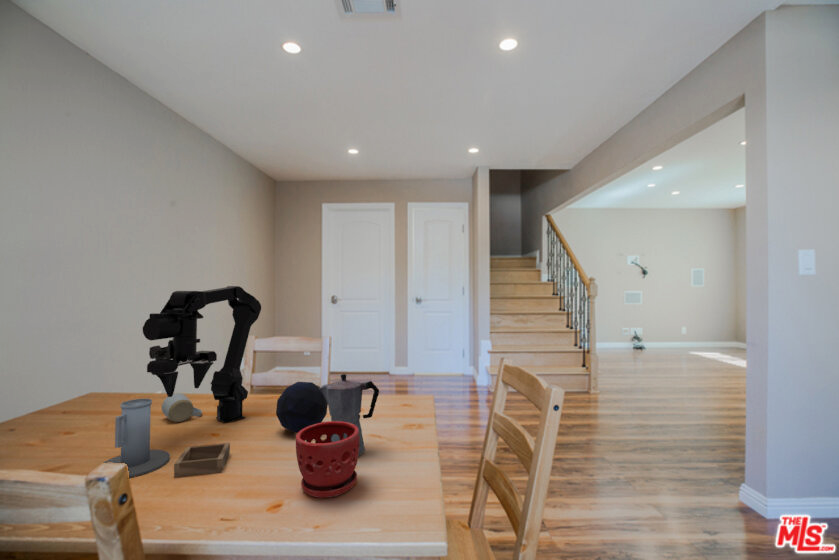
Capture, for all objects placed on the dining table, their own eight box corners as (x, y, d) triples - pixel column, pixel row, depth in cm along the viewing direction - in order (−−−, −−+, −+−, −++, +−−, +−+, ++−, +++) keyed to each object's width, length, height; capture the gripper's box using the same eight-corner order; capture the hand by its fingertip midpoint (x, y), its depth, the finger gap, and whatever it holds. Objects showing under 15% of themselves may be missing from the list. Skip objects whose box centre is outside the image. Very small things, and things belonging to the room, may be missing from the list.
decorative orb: (261, 411, 117) (277, 375, 111) (305, 400, 128) (322, 367, 122) (280, 451, 109) (299, 415, 103) (325, 435, 121) (344, 402, 115)
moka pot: (321, 445, 105) (321, 370, 105) (378, 443, 106) (379, 369, 107) (314, 461, 95) (315, 378, 96) (378, 459, 97) (378, 377, 97)
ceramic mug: (168, 425, 119) (169, 400, 119) (160, 419, 125) (161, 395, 125) (205, 418, 127) (206, 394, 127) (197, 412, 132) (198, 389, 133)
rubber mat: (160, 448, 103) (160, 444, 103) (177, 464, 93) (177, 461, 93) (91, 465, 92) (91, 462, 92) (103, 486, 83) (103, 482, 83)
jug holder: (186, 459, 96) (187, 446, 96) (229, 454, 99) (229, 442, 99) (174, 477, 87) (174, 463, 87) (221, 472, 90) (221, 458, 90)
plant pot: (320, 468, 92) (321, 417, 92) (370, 479, 87) (370, 424, 87) (281, 495, 80) (282, 436, 80) (335, 510, 75) (336, 447, 75)
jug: (136, 455, 96) (137, 397, 97) (156, 457, 95) (158, 399, 96) (105, 469, 89) (106, 407, 89) (126, 471, 88) (128, 408, 88)
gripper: (186, 331, 120) (185, 382, 119) (129, 339, 102) (128, 399, 101) (218, 332, 117) (217, 384, 117) (166, 340, 99) (164, 402, 99)
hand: (183, 392), depth 109 cm, fingers open, 9 cm apart
